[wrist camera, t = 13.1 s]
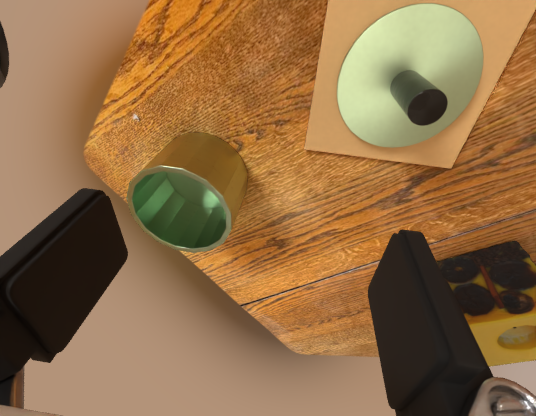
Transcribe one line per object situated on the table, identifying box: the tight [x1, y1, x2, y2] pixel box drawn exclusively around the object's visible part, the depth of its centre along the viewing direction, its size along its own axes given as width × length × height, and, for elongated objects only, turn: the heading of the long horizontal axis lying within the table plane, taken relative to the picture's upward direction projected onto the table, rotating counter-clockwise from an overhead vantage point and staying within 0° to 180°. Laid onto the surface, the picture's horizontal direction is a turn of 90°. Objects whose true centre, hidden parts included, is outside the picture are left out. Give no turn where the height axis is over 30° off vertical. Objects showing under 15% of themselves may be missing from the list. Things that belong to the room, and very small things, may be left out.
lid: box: [337, 3, 483, 148], centre depth 23 cm, size 12×12×8 cm
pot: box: [126, 132, 248, 253], centre depth 33 cm, size 11×11×8 cm
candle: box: [436, 241, 536, 366], centre depth 36 cm, size 10×10×10 cm
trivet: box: [304, 0, 536, 169], centre depth 26 cm, size 16×16×1 cm
